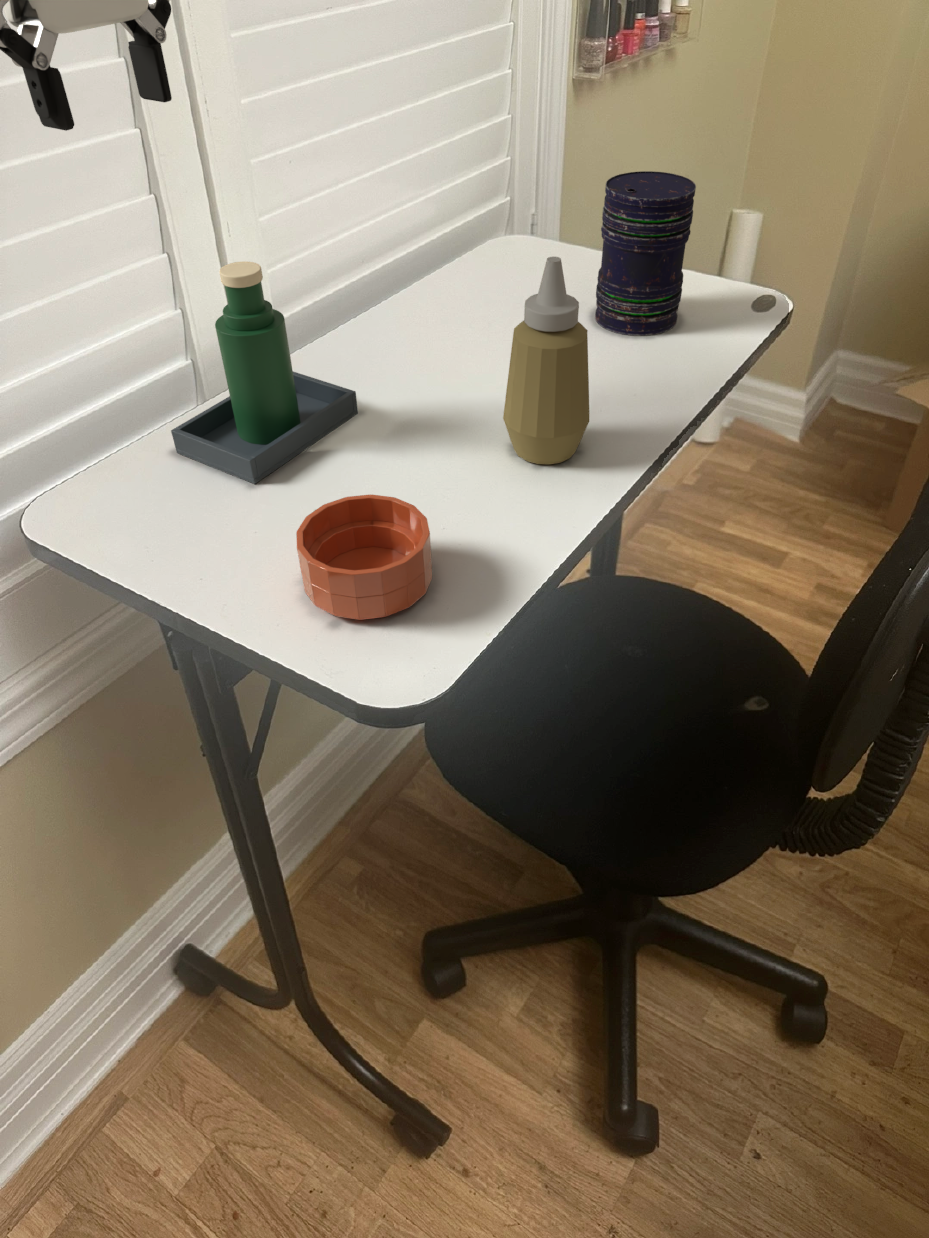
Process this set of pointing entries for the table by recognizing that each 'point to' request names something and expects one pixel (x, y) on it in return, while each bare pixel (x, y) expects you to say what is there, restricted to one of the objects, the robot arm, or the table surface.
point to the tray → (224, 450)
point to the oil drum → (643, 251)
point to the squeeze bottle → (548, 374)
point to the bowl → (365, 556)
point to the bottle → (255, 357)
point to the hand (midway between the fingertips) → (109, 113)
